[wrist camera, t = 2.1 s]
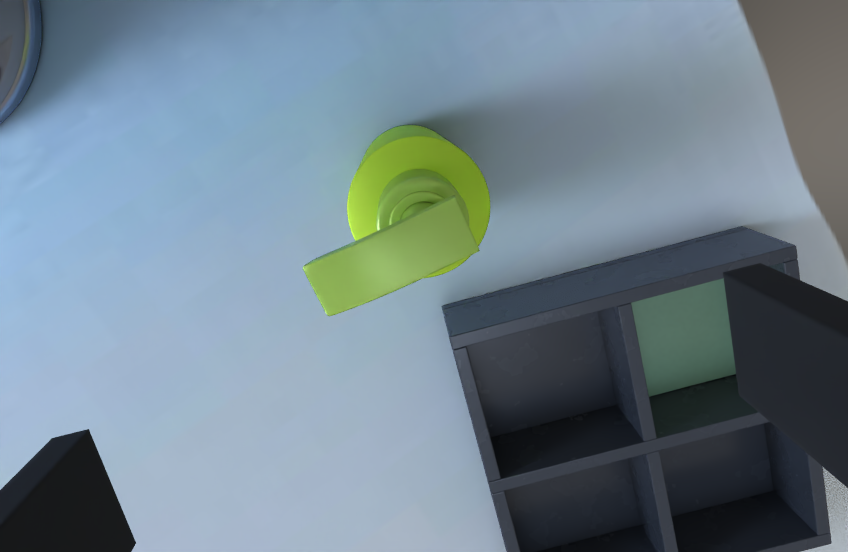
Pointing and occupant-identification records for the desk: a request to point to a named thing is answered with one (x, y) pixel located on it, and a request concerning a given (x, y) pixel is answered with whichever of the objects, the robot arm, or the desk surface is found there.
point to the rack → (632, 410)
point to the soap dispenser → (404, 219)
